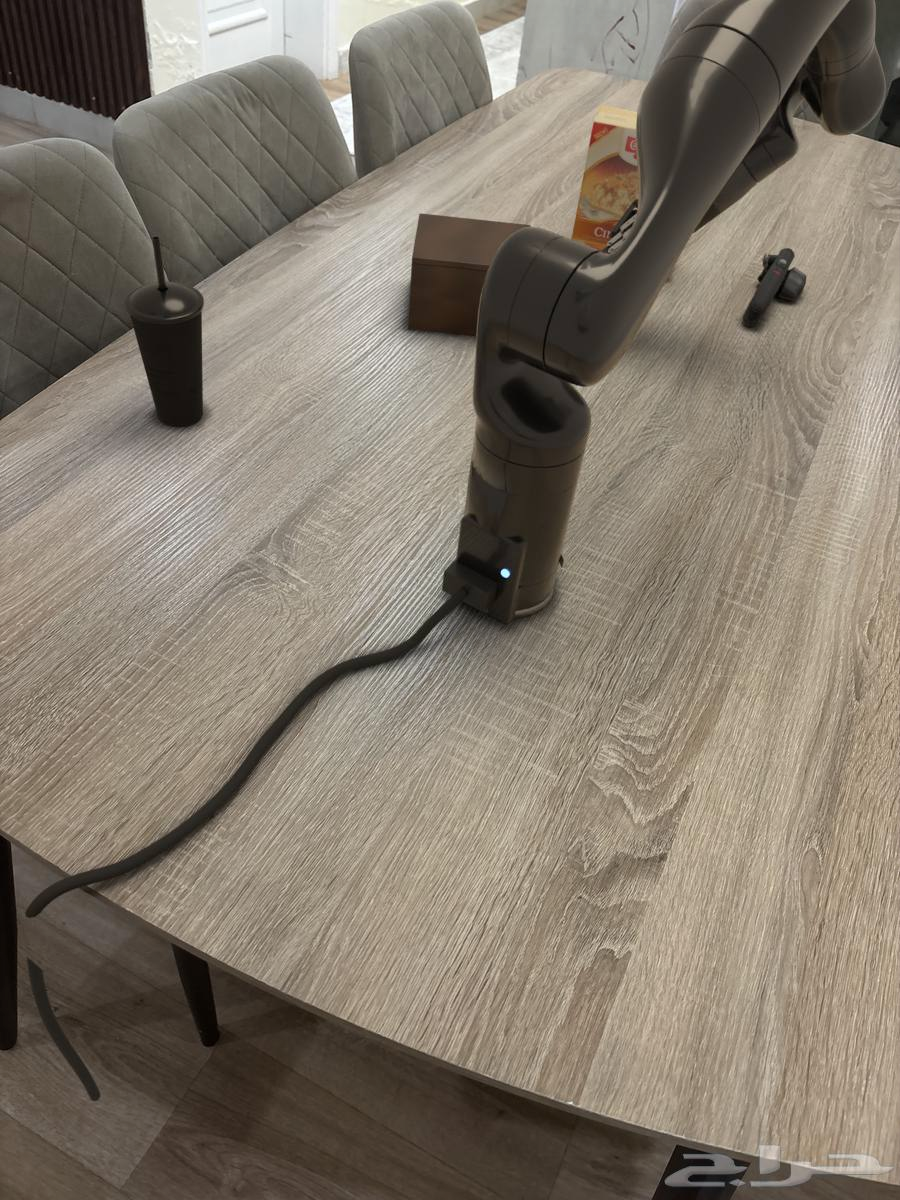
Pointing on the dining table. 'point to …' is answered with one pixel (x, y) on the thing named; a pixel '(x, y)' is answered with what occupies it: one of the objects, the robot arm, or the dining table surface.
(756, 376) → the dining table surface
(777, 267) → the can opener
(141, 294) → the drinking cup
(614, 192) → the coffeecake box
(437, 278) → the brown wooden box
